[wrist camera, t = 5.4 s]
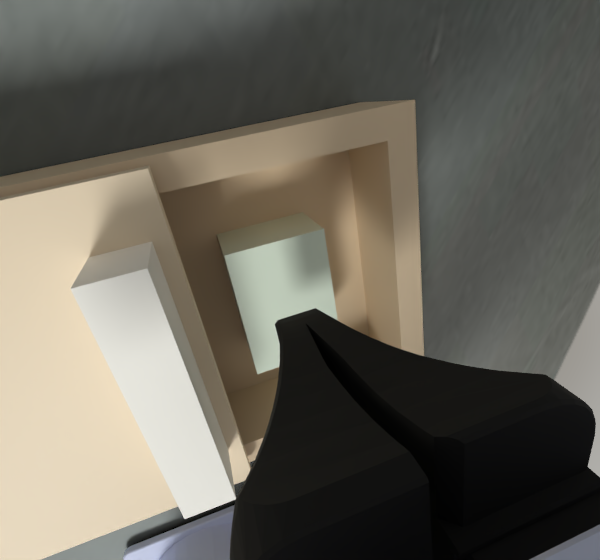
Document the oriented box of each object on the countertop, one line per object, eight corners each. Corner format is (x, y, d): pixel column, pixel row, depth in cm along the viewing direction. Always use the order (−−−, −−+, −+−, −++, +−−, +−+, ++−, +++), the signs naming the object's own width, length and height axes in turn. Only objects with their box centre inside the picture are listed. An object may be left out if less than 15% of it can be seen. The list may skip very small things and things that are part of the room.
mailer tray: (382, 347, 20) (425, 395, 17) (63, 456, 17) (36, 543, 14) (359, 102, 15) (415, 99, 12) (-104, 198, 12) (-216, 232, 9)
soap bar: (320, 316, 18) (341, 346, 15) (246, 340, 17) (257, 374, 15) (302, 212, 15) (323, 228, 13) (216, 234, 15) (224, 255, 13)
